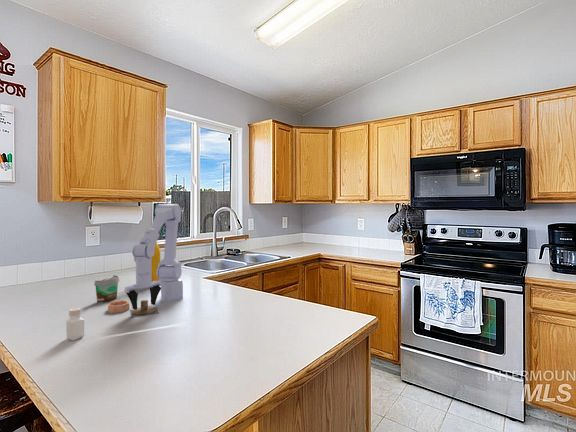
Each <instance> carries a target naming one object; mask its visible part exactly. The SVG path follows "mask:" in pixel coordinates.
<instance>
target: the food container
mask: <svg viewBox="0 0 576 432" xmlns="http://www.w3.org/2000/svg"><path fill="white" fill-rule="evenodd" d="M119 283H120V278H119V275H112V277H110V278H105V279H104V278H103V279H102V280H94V284H93V285H94V287H95V295H96V302H97V303H107V302H114V301H116V300H117V299H118V288H119V287H118V285H119Z"/></svg>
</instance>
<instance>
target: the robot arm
mask: <svg viewBox="0 0 576 432" xmlns="http://www.w3.org/2000/svg"><path fill="white" fill-rule="evenodd" d="M154 214H155V217H154V218H153V221H152V222H151V223H152V224H151V226H150V228H147V229H146V230H145V231H144V233H143V235H142V237H141V239H140V241H139V243H136V244H135V245H134V246H133V248H132V251H131V252H132V256H133V259H134V260H133V261H134V262H135V282H136V283H135V284H131V285H128V286H124V293H126V295H127V297H128V299H129V302H130V303H131V308H132V310H136V309H137V308H138V296H139V293H138V292H137V291H140V290H145V289H149V292H150V294H149V295H150V305H152V306H155V305H156V303H157V299H158V296H159V294H160V296H159V300H160V301H161V302H168V301H174V300H182V299H184V289H183V287H184V284H183V279H182V278H181V277H182V272H183V271H182V263H181V262H180V261H179V260H177V258H176V256H177V244H178V243H177V242H178V231H179V230H178V228H179V223H181V220H182V218H181V217H182V209H181V206H180V205H179V204H178V203H171V204H169V203H167V204H166V203H162V204H161V203H158V204H157V205H156V207H155V209H154ZM164 224H165V226H166V229H165V239H164V240H165V241H164V250H163V251H164V253H163V258H162V259H161V261H160V262H159V264H158V268H157V272H156V274H157V277H158V278H159V281H153V282H152V274H151V257H152V256H153V255H154V251H155V244H156V242H157V241H158V239H159V237H160V230H161V228H162V227H163V225H164ZM157 243H158V242H157Z"/></svg>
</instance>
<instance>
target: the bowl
mask: <svg viewBox="0 0 576 432" xmlns="http://www.w3.org/2000/svg"><path fill="white" fill-rule="evenodd" d="M107 308H108V309H107V311H108V313H110V314H111V313H112V314H115V313H123V312H126V311H130V300H124V299H123V300H113V301H110V302H109V303H107Z"/></svg>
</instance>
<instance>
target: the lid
mask: <svg viewBox="0 0 576 432" xmlns="http://www.w3.org/2000/svg"><path fill="white" fill-rule="evenodd" d="M155 307H156V306H151V305H150V306H149V301H148V299H143V300H140V307H137V309H136V310H134V309H132V310H133V314H134V315H146V316H148V315H147V314H151V313H154V312H155V311H156V308H155Z"/></svg>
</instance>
